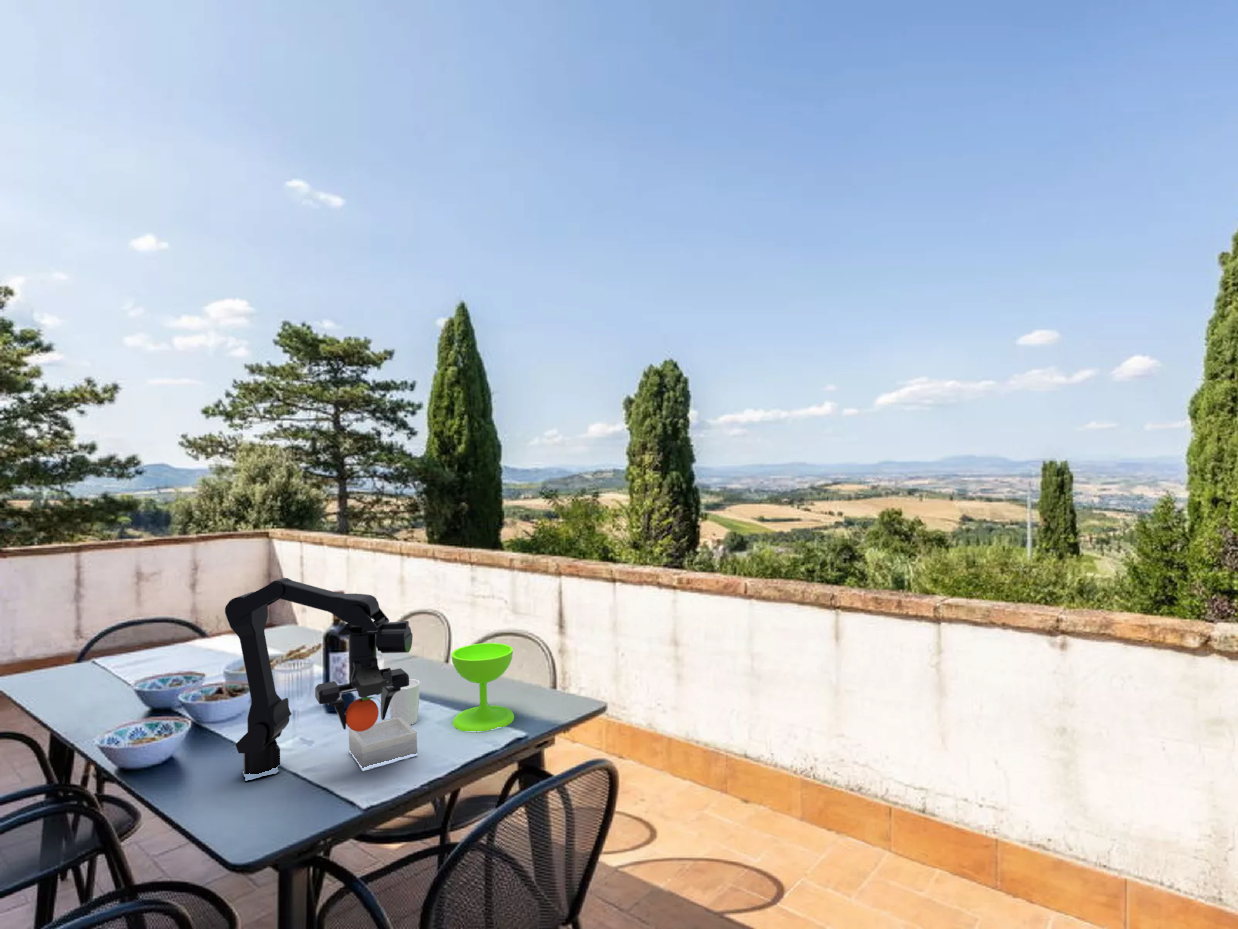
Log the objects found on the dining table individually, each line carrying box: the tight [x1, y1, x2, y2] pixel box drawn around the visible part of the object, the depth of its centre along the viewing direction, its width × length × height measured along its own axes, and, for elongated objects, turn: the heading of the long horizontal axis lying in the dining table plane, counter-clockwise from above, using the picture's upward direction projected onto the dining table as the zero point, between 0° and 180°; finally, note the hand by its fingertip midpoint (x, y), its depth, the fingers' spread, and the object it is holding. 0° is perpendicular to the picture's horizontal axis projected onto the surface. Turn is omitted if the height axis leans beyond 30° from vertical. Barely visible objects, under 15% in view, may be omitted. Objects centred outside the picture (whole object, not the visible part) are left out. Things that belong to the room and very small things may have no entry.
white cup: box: [388, 678, 421, 726], centre depth 164 cm, size 8×8×10 cm
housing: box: [348, 716, 418, 768], centre depth 145 cm, size 12×12×6 cm
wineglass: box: [450, 642, 515, 733], centre depth 164 cm, size 16×16×18 cm
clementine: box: [345, 696, 381, 732], centre depth 138 cm, size 8×7×7 cm
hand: (363, 724), depth 138 cm, fingers closed on clementine, 8 cm apart
